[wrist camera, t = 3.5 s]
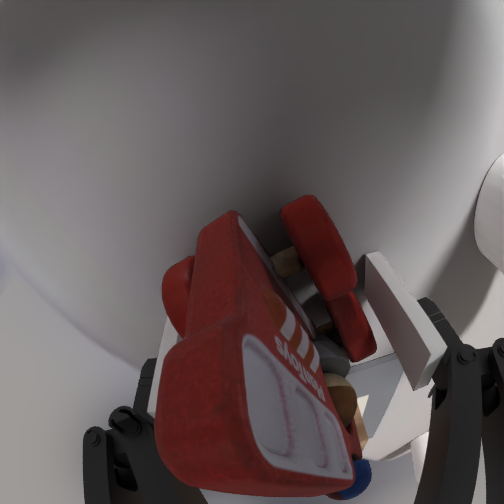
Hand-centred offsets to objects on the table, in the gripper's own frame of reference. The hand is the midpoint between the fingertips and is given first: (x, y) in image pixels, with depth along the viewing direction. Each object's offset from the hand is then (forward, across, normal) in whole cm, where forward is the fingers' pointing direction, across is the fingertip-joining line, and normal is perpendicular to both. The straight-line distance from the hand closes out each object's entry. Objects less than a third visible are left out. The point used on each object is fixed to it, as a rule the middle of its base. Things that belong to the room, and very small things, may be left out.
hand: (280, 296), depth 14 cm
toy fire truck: (+1, 0, 0) cm, 1 cm away
